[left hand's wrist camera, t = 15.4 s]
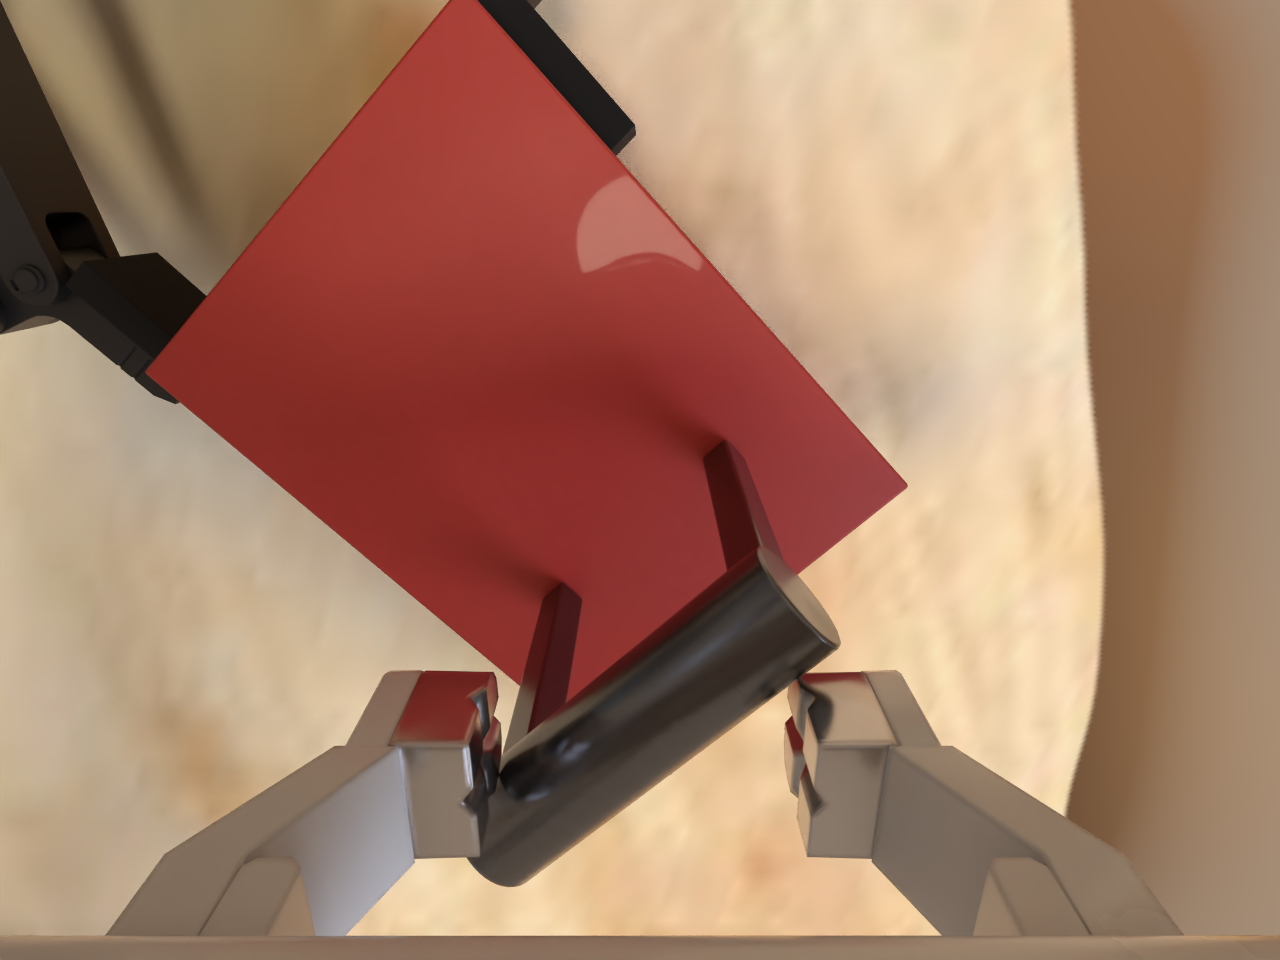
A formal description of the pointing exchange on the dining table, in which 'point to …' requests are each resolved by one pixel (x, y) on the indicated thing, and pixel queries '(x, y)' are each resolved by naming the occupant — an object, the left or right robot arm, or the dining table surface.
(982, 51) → the dining table surface
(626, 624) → the lid
